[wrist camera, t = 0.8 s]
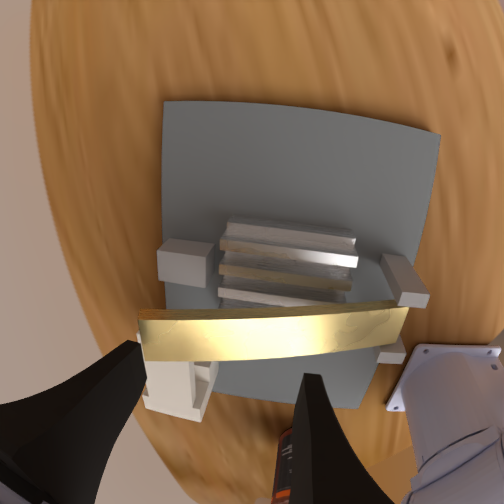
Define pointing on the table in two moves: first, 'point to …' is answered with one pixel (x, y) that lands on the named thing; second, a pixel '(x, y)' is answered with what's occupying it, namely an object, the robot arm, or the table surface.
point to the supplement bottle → (283, 470)
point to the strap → (267, 331)
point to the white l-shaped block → (179, 387)
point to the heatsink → (284, 263)
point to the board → (294, 218)
